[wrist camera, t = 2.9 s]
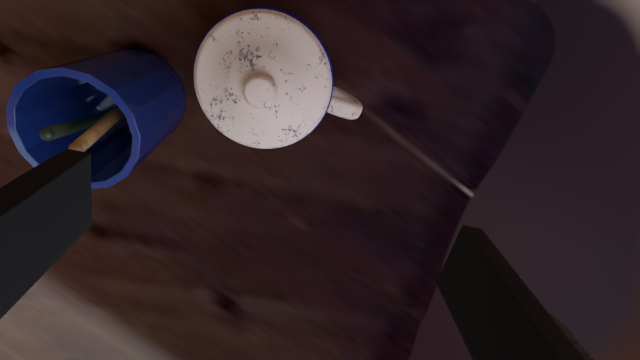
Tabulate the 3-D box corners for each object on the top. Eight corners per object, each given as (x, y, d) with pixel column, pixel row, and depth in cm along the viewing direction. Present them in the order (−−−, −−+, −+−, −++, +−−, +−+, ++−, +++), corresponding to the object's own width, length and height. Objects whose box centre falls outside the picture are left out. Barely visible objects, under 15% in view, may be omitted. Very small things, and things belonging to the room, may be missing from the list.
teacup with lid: (206, 94, 33) (162, 136, 23) (237, -14, 30) (201, -24, 19) (332, 141, 36) (345, 199, 25) (374, 46, 32) (409, 67, 22)
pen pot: (91, 126, 34) (9, 174, 24) (94, 37, 31) (2, 52, 21) (179, 147, 35) (134, 200, 26) (191, 63, 32) (144, 88, 23)
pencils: (121, 113, 33) (34, 165, 22) (124, 74, 32) (32, 110, 21) (151, 120, 33) (79, 175, 23) (154, 82, 32) (80, 121, 21)
